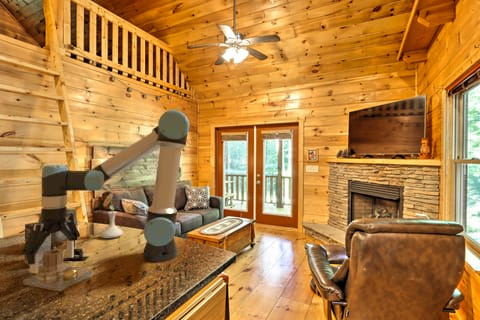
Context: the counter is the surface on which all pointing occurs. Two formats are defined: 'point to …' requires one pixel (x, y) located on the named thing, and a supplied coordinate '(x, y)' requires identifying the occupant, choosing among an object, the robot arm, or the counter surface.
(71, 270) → the carrier
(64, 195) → the robot arm
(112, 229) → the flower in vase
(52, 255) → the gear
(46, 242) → the coffee box
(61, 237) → the tabletop clock
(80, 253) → the black piece
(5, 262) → the counter surface
